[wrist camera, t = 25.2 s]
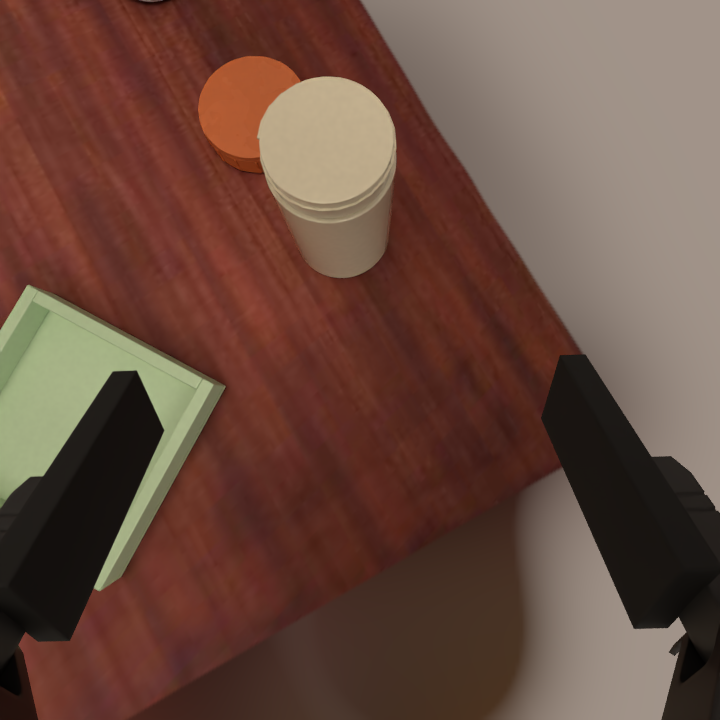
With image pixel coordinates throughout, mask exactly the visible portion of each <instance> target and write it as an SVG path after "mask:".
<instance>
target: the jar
mask: <svg viewBox="0 0 720 720" xmlns="http://www.w3.org/2000/svg"><path fill="white" fill-rule="evenodd" d="M257 139H258V140H259V148H260V161H261V164H262V167H263V170H264V174H265V177H266V181H267V184H268V186H269V189H270V191H271V193H272V195H273V197H274V199H275V201H276V204H277V206H278V208H279V210H280V212H281V214H282V216H283V219H284V221H285V223H286V225H287V227H288V229H289V231H290V234H291V236H292V238H293V240H294V242H295V244H296V246H297V249H298V251H299V253H300V255H301V256H302V258H303V259H304V260H305V262H306V263H307V264H308V265H309V266H310V267H311V268H313V269H314V270H316V271H317V272H319V273H321V274H324V275H326V276H330V277H335V278H348V277H353V276H357V275H359V274H362V273H364V272H366V271H367V270H369V269H370V268H372V267H373V266H374V265H375V264H376V263H377V262H378V261H379V260H380V258H381V257H382V255H383V254H384V252H385V250H386V247H387V244H388V241H389V233H390V223H391V213H392V203H393V193H394V183H395V173H396V135H395V128H394V125H393V122H392V120H391V117H390V115H389V112H388V111H387V109H386V108H385V107H384V105H383V104H382V102H381V101H380V100H379V98H377V96H375V95H374V94H373V93H372V92H371V91H370V90H368V89H367V88H365V87H364V86H362V85H360V84H358V83H356V82H354V81H351V80H348V79H344V78H340V77H317V78H312V79H308V80H305V81H302V82H300V83H296V84H295V85H293V86H292V87H290V88H289V89H287V90H286V91H284V92H283V93H281V94H280V95H279V96H278V97H277V98H276V99H275V100H274V101H273V103H272V104H271V105H269V107H268V109H267V110H266V112H265V114H264V116H263V118H262V120H261V122H260V126H259V131H258V135H257Z"/></svg>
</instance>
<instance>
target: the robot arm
mask: <svg viewBox="0 0 720 720" xmlns="http://www.w3.org/2000/svg"><path fill="white" fill-rule="evenodd" d="M541 419H542V421H543V424H544V426H545V428H546V431H547V433H548V435H549V437H550V440H551V442H552V444H553V446H554V449H555V451H556V453H557V455H558V458H559V460H560V462H561V465H562V467H563V469H564V471H565V474H566V476H567V478H568V480H569V483H570V485H571V487H572V489H573V492H574V494H575V496H576V499H577V501H578V503H579V505H580V508H581V510H582V512H583V514H584V517H585V519H586V521H587V523H588V526H589V528H590V530H591V532H592V535H593V537H594V539H595V542H596V544H597V546H598V548H599V551H600V553H601V555H602V557H603V560H604V562H605V564H606V566H607V569H608V571H609V573H610V576H611V578H612V580H613V582H614V584H615V587H616V589H617V591H618V594H619V596H620V598H621V600H622V603H623V605H624V607H625V610H626V612H627V614H628V616H629V619H630V621H631V623H632V625H633V628H634V629H644V628H668V627H669V626H670V625H671V624H672V623H673V622H674V621H675V620H676V619H677V618H678V617H679V618H680V620H681V622H682V624H683V626H684V628H685V630H686V633H685V635H683V637H681V638H680V639H679V640H678V641H677V642H676V643H675V644H674V645H673V647H672V648H671V650H670V652H669V653H671V654H673V655H674V656H675V655H676V654H677V653H678V652H679V655H678V659H677V662H676V667H675V670H674V674H673V678H672V681H671V686H670V689H669V693H668V697H667V701H666V705H665V708H664V712H663V716H662V720H720V513H719V512H718V511H716V510H715V506H714V505H713V503H712V502H711V500H710V499H709V498H708V496H707V495H705V494H704V490H703V489H702V488H701V486H700V485H699V483H698V482H697V480H696V479H695V478H694V476H693V475H692V473H691V472H690V471H688V470H687V469H686V468H685V467H683V466H682V465H681V464H680V463H678V462H677V461H676V460H675V459H674V458H672V457H671V456H668V457H667V456H666V457H651V456H650V454H649V452H648V451H647V449H646V448H645V446H644V445H643V443H642V442H641V440H640V438H639V437H638V435H637V434H636V432H635V431H634V429H633V428H632V426H631V424H630V423H629V421H628V420H627V418H626V417H625V416H624V414H623V412H622V411H621V409H620V407H619V406H618V404H617V403H616V402H615V400H614V398H613V397H612V395H611V394H610V392H609V391H608V389H607V387H606V386H605V384H604V383H603V381H602V380H601V378H600V376H599V375H598V373H597V372H596V370H595V369H594V367H593V366H592V364H591V363H590V361H589V359H588V358H587V356H586V355H560V357H559V361H558V364H557V367H556V371H555V374H554V377H553V381H552V384H551V387H550V391H549V394H548V397H547V401H546V404H545V407H544V411H543V414H542V417H541ZM164 431H165V430H164V428H163V426H162V424H161V422H160V420H159V417H158V415H157V413H156V411H155V409H154V406H153V404H152V402H151V400H150V398H149V396H148V393H147V391H146V389H145V387H144V385H143V383H142V380H141V378H140V376H139V374H138V372H137V370H134V371H113V372H112V373H111V375H110V376H109V378H108V379H107V381H106V382H105V384H104V385H103V387H102V388H101V390H100V391H99V393H98V394H97V396H96V397H95V399H94V400H93V402H92V403H91V405H90V406H89V408H88V409H87V411H86V412H85V414H84V415H83V417H82V418H81V420H80V421H79V423H78V424H77V426H76V427H75V429H74V430H73V432H72V433H71V435H70V437H69V438H68V440H67V441H66V443H65V444H64V446H63V447H62V449H61V450H60V452H59V453H58V455H57V456H56V458H55V459H54V461H53V462H52V464H51V465H50V467H49V468H48V470H47V471H46V473H45V474H44V476H34V477H29V478H28V479H27V480H26V481H25V482H24V483H22V484H21V485H20V486H19V487H18V488H17V489H16V490H14V491H13V492H12V493H11V494H10V496H9V497H8V498H7V500H6V501H5V503H4V504H3V506H2V507H1V508H0V720H38V717H37V713H36V708H35V704H34V700H33V695H32V691H31V686H30V682H29V677H28V673H27V668H26V664H25V659H24V655H23V652H22V650H21V649H20V647H19V646H18V644H19V643H20V641H21V639H22V637H23V635H24V633H25V632H26V633H28V634H29V635H30V636H31V637H33V638H34V639H35V640H37V641H38V642H41V641H70V639H71V637H72V635H73V633H74V630H75V628H76V626H77V624H78V622H79V619H80V617H81V615H82V613H83V610H84V608H85V606H86V604H87V602H88V599H89V597H90V595H91V593H92V590H93V588H94V586H95V584H96V582H97V579H98V577H99V575H100V573H101V570H102V568H103V566H104V564H105V562H106V559H107V557H108V555H109V553H110V550H111V548H112V546H113V544H114V542H115V539H116V537H117V535H118V533H119V531H120V528H121V526H122V524H123V522H124V519H125V517H126V515H127V513H128V511H129V508H130V506H131V504H132V502H133V499H134V497H135V495H136V493H137V491H138V488H139V486H140V484H141V482H142V479H143V477H144V475H145V473H146V471H147V468H148V466H149V464H150V462H151V459H152V457H153V455H154V453H155V451H156V448H157V446H158V444H159V442H160V439H161V437H162V435H163V433H164Z"/></svg>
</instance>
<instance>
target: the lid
mask: <svg viewBox="0 0 720 720" xmlns="http://www.w3.org/2000/svg"><path fill="white" fill-rule="evenodd" d="M300 82H301V81H300V79H299V78H298V77H297V75H296V74H295V73H294V72H293V71H292V70H291V69H290V68H289V67H287V66H286V65H284V64H283V63H281V62H279V61H277V60H275V59H272V58H268V57H263V56H247V57H242V58H238V59H235V60H232V61H230V62H228V63H226V64H225V65H223V66H221V67H220V68H219V69H218V70H216V71H215V72H214V73H213V74H212V75H211V77H210V78H209V79H208V80H207V82H206V84H205V85H204V87H203V90H202V92H201V95H200V99H199V105H198V114H199V120H200V124H201V127H202V129H203V131H204V133H205V134H204V135H205V137H206V138H207V140H208V142H209V143H210V145H211V146H213V148H214V149H215V151H216V152H217V154H218V155H219V156H220V157H221V159H222V161H225V162H226V163H228V164H229V165H231V166H233V167H235V168H237V169H239V170H240V171H241V170H242V171H247V172H255V173H262V172H264V170H263V167H262V164H261V161H260V148H259V140H258V139H257V135H258V131H259V126H260V122H261V120H262V118H263V116H264V114H265V112H266V110H267V109H268V107H269V105H271V104H272V103H273V101H274V100H275V99H276V98H277V97H278V96H279V95H280V94H281V93H283V92H284V91H286V90H287V89H289V88H290V87H292V86H293V85H295V84H296V83H300Z"/></svg>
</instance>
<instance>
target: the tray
mask: <svg viewBox="0 0 720 720" xmlns="http://www.w3.org/2000/svg"><path fill="white" fill-rule="evenodd" d="M134 370H137V372H138V374H139V376H140V378H141V380H142V383H143V385H144V387H145V389H146V391H147V393H148V396H149V398H150V400H151V402H152V404H153V406H154V409H155V411H156V413H157V415H158V417H159V420H160V422H161V424H162V426H163V428H164V430H165V431H164V433H163V435H162V437H161V439H160V442H159V444H158V446H157V448H156V451H155V453H154V455H153V457H152V459H151V462H150V464H149V466H148V468H147V471H146V473H145V475H144V477H143V479H142V482H141V484H140V486H139V488H138V491H137V493H136V495H135V497H134V499H133V502H132V504H131V506H130V508H129V511H128V513H127V515H126V517H125V519H124V522H123V524H122V526H121V528H120V531H119V533H118V535H117V537H116V539H115V542H114V544H113V546H112V548H111V550H110V553H109V555H108V557H107V559H106V562H105V564H104V566H103V568H102V570H101V573H100V575H99V577H98V579H97V582H96V584H95V586H94V588H95V589H96V590H98V591H101V590H102V589H104V588H105V587H107V586H108V585H110V584H111V583H113V582H114V581H116V580H117V579H119V578H120V577H121V576H122V575H123V573H124V571H125V569H126V567H127V565H128V564H129V562H130V560H131V558H132V556H133V555H134V553H135V551H136V549H137V547H138V545H139V544H140V542H141V540H142V538H143V536H144V535H145V533H146V531H147V529H148V527H149V525H150V524H151V522H152V520H153V518H154V516H155V514H156V513H157V511H158V509H159V507H160V505H161V504H162V502H163V500H164V498H165V496H166V494H167V493H168V491H169V489H170V487H171V485H172V484H173V482H174V480H175V478H176V476H177V474H178V473H179V471H180V469H181V467H182V465H183V464H184V462H185V460H186V458H187V456H188V454H189V453H190V451H191V449H192V447H193V445H194V444H195V442H196V440H197V438H198V436H199V434H200V433H201V431H202V429H203V427H204V425H205V424H206V422H207V420H208V418H209V416H210V414H211V413H212V411H213V409H214V407H215V405H216V404H217V402H218V400H219V398H220V396H221V394H222V393H223V391H224V389H225V387H226V386H225V385H223V384H221V383H219V382H218V381H216V380H214V379H212V378H210V377H208V376H206V375H204V374H203V373H201V372H199V371H197V370H195V369H193V368H191V367H190V366H188V365H186V364H184V363H182V362H180V361H178V360H176V359H175V358H173V357H171V356H169V355H167V354H165V353H163V352H161V351H160V350H158V349H156V348H154V347H152V346H150V345H148V344H147V343H145V342H143V341H141V340H139V339H137V338H135V337H133V336H132V335H130V334H128V333H126V332H124V331H122V330H120V329H119V328H117V327H115V326H113V325H111V324H109V323H107V322H105V321H104V320H102V319H100V318H98V317H96V316H94V315H92V314H90V313H89V312H87V311H85V310H83V309H81V308H79V307H77V306H76V305H74V304H72V303H70V302H68V301H66V300H64V299H62V298H61V297H59V296H57V295H55V294H53V293H50V292H47V291H44V290H42V289H39V288H36V287H33V286H31V285H27V287H26V289H25V290H24V292H23V294H22V295H21V297H20V298H19V300H18V302H17V303H16V305H15V307H14V308H13V310H12V312H11V313H10V315H9V317H8V318H7V320H6V322H5V323H4V325H3V327H2V328H1V330H0V508H1V507H2V506H3V504H4V503H5V501H6V500H7V498H8V497H9V496H10V494H11V493H12V492H13V491H14V490H16V489H17V488H18V487H19V486H20V485H21V484H22V483H24V482H25V481H26V480H27V479H28V478H29V477H34V476H44V474H45V473H46V471H47V470H48V468H49V467H50V465H51V464H52V462H53V461H54V459H55V458H56V456H57V455H58V453H59V452H60V450H61V449H62V447H63V446H64V444H65V443H66V441H67V440H68V438H69V437H70V435H71V433H72V432H73V430H74V429H75V427H76V426H77V424H78V423H79V421H80V420H81V418H82V417H83V415H84V414H85V412H86V411H87V409H88V408H89V406H90V405H91V403H92V402H93V400H94V399H95V397H96V396H97V394H98V393H99V391H100V390H101V388H102V387H103V385H104V384H105V382H106V381H107V379H108V378H109V376H110V375H111V373H112V372H113V371H134Z"/></svg>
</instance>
